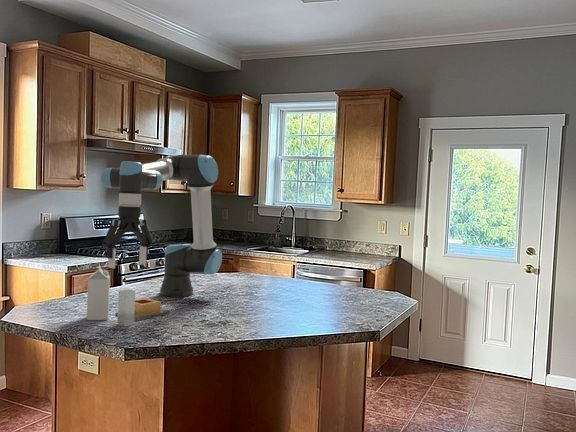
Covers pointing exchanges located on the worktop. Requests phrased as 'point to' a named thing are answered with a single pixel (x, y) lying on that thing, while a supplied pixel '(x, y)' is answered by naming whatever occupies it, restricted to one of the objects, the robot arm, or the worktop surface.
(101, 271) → the milk carton
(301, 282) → the worktop surface
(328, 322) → the worktop surface
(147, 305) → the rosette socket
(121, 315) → the white tall block
